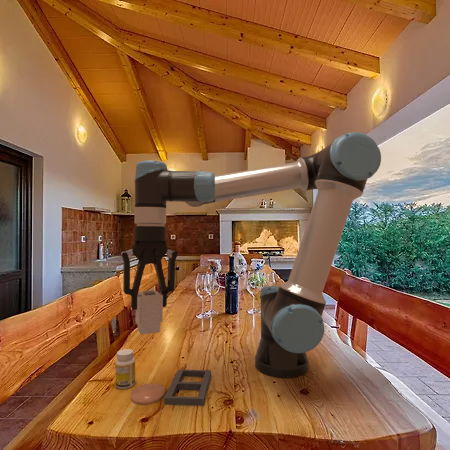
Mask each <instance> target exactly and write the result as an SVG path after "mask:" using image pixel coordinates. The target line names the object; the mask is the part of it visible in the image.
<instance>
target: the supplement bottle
mask: <svg viewBox="0 0 450 450" xmlns="http://www.w3.org/2000/svg"><path fill="white" fill-rule="evenodd" d="M135 384H136V359H135V357H134V350H133V349H132V348H131V349H130V348H125V349H124V348H123V349H120V350H118V351H117V352H116V360H115V386H116V388H118V389H119V390H120V389H121V390H123V389H129V388H131V387H134V385H135Z"/></svg>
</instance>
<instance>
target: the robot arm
mask: <svg viewBox="0 0 450 450" xmlns="http://www.w3.org/2000/svg"><path fill="white" fill-rule="evenodd" d="M381 161H382V154H381V150H380V148H379V146H378V144H377V142H376V141H375V140H374V139H373V137H371V136H369V135H367V134H365V133H362V132H357V131H353V132H348V133H345V134H342V135H340V136H338V137H337V138H334V140H333V141H332V143H330V144H328V145H327V146H326V147H324V148H323V149H321V150H319V151H317V152H316V153H313V154H311V155H308V156H303V157H299V158H297V160H296V161H295V162H288V163H283V164H277V165H276V164H275V165H271V166H264V167H259V168H253V169H249V170H248V169H247V170H242V171H234V172H229V173H222V174H217V175H216V174H215V173H214V172H212V171H203V170H169V169H168V166H167V164H166V162H163V161H160V160H153V159H152V160H151V159H149V160H148V159H147V160H142V161H139V162H138V163H137V164H136V165H135V175H134V176H135V177H134V225H136V226H135V227H134V228H133V234H134V235H133V236H134V237H133V245H132V246H131V249H129V250H126V251H122V252H121V253H120V257H121V258H122V260H123V265H122V266H123V274H122V276H123V278H122V279H123V283H122V285H123V287H122V290H123V293H124V294H125V295H129V296H130V303H131V304H130V307H131V310H132V311H134V310H135V323H136V325H137V326H138V325H139V324H140V320H141V296H140V295H139V294H138V292H140V287H141V284H142V283H141V282H142V278H143V275H144V270H145V267H146V265H149V264H152V265H154V268H155V272H156V277H157V282H158V285H159V291H160V292H159V293H160V294H161V307H160V323H163V315H164V314H163V313H164V312H163V310H164V309H163V308H166V307H167V305H168V304H167V301H168V298H167V297H168V294H169V293H170V292H174V291H175V285H176V284H175V282H176V281H175V280H176V277H175V276H176V260H177V257H178V254H179V253H178V251H176V250H171V249H168V246H167V228H166V227H165V225H166V224H167V202H169V203H170V202H181V203H183V202H184V203H185V204H187V205H188V206H190V207H193V208H197V207H201V206H203V205H208V204H212V203H219V202H220V203H221V202H224V201H226V202H227V201H230V200H237V199H242V198H248V197H249V198H250V197H255V196H260V195H266V194H272V193H278V192H283V191H289V190H290V191H291V190H296V189H300V190H301V191H305V192H306V191H311V190H317V194H316V197H315V200H314V203H313V206H312V209H311V211H310V215H309V218H308V220H307V223H306V226H305V230H304V232H303V235H302V239H301V242H300V244H299V247H298V251H297V253H296V257H295V259H294V262H293V265H292V268H291V270H290V273H289V277H288V280H287V281H285V282H283V283H282V284H279V285H265V286H262V287H261V288H260V295H259V300H260V339H259V342H258V346H257V349H256V352H255V355H254V356H255V357H254V365H255V368H256V369H257V370H258V371H259V372H261V373H262V374H265V375H268V376H271V377H275V378H295V377H300V376H302V375H304V374H306V373H307V372H308V371H309V357H308V354H307V352H310V351H311V350H314V349H315V348H316V347H317V346H318V345H320V343H321V342H322V340H323V337H324V335H325V323H324V318H322V316H323V313H324V310H325V307H326V304H327V301H326V299H325V297H324V294H323V292H324V289H325V286H326V282H327V280H328V277H329V274H330V271H331V268H332V265H333V262H334V259H335V256H336V253H337V250H338V246H339V244H340V240H341V237H342V235H343V231H344V229H345V227H346V223H347V221H348V217H349V214H350V211H351V208H352V206H353V205H352V204H353V202H354V201H355V200H356V199H359V198H361V197H362V196H363V193H364V190H365V187H366V184H367V181H368V179H371V178H372V177H373V176H375V174H376V173H377V172H378V170H379V169H380V166H381ZM133 255H134V256H135V257H136V259H137V260H138V262H137V266H136V271H135V275H134V279H133V283H132V287H131V259H132V257H133ZM165 255H166V256H167V258H168V260H167V283H166V279H165V273H164V269H163V264H162V260H163V258H164V257H165Z"/></svg>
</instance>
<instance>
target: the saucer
mask: <svg viewBox="0 0 450 450" xmlns="http://www.w3.org/2000/svg"><path fill="white" fill-rule="evenodd" d="M165 389H166V388H165V387H164V386H163V385H161V384H159V383H145V384H142V385H139V386H137V387H134V388H133V389H132V390H131V391H130V401H131V402H133V403H134V404H136V405H150V404H154V403H157V402H159V401H160V400H162V399H164V397H165V395H166V390H165Z"/></svg>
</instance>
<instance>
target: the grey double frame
mask: <svg viewBox="0 0 450 450" xmlns="http://www.w3.org/2000/svg"><path fill="white" fill-rule="evenodd" d="M185 377H188V378H189V377H193V378H202V381H183V378H185ZM211 378H212V370H211V369H209V370H208V369H178V370H177V371H176V374H175V375H174V377H173V380H172V382H171V383H170V385H169V387H168V389H167V391H166V392H165V395H164V397H163V402H164V406H165V405H170V406H171V405H173V406H200V407H204V405H205V401H206V398H207V395H208V389H209V387H210V382H211ZM178 390H180V391H198V394H197V396H176V394H177V392H178Z"/></svg>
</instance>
